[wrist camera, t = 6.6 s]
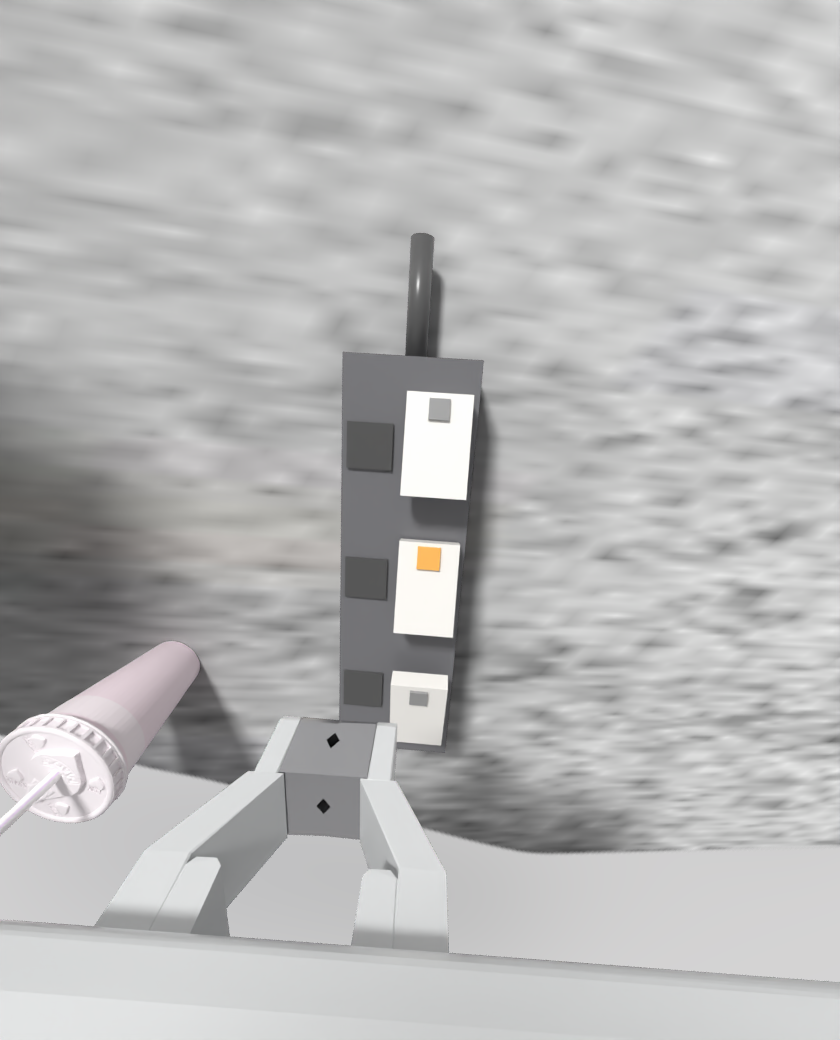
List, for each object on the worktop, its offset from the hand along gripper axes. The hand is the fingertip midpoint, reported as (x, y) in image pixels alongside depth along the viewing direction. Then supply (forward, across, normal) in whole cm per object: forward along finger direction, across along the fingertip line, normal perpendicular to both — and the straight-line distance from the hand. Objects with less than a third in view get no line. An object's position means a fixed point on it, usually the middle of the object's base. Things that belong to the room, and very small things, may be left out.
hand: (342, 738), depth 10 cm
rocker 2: (+12, -2, +1) cm, 13 cm away
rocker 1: (+12, -2, -6) cm, 14 cm away
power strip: (+16, -1, -2) cm, 16 cm away
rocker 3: (+12, -2, +9) cm, 15 cm away
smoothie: (+17, +16, +11) cm, 26 cm away
